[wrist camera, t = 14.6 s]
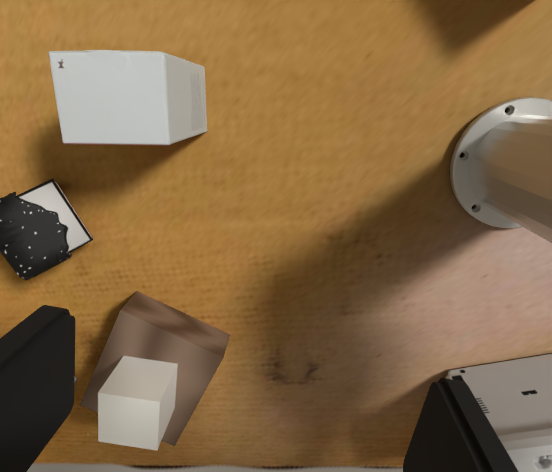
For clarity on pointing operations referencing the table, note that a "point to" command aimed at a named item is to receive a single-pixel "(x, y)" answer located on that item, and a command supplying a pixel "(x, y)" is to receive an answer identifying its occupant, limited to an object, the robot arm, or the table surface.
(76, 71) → the small box
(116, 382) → the white cube
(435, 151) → the table surface
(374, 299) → the table surface
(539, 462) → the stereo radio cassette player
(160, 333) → the walnut block
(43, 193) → the black and white piece
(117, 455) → the table surface
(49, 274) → the table surface
